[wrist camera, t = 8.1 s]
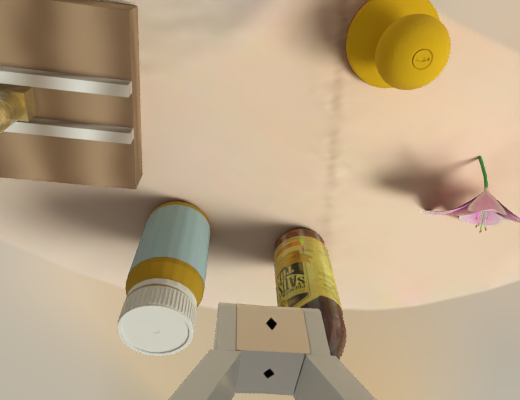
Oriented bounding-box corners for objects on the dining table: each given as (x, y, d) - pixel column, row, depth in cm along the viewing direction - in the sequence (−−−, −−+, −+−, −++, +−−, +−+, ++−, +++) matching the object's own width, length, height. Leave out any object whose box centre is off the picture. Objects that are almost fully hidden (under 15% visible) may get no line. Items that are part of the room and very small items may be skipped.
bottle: (135, 221, 45) (92, 329, 32) (180, 186, 43) (154, 287, 30) (179, 258, 48) (156, 369, 35) (223, 227, 46) (216, 334, 33)
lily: (390, 169, 44) (408, 252, 39) (502, 112, 36) (541, 208, 31) (445, 200, 51) (465, 273, 46) (549, 158, 43) (586, 241, 38)
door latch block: (137, 6, 33) (117, 17, 28) (142, 174, 42) (127, 207, 36) (-124, -29, 31) (-200, -25, 26) (-64, 155, 40) (-112, 187, 34)
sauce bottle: (287, 218, 45) (314, 377, 29) (334, 235, 47) (386, 395, 30) (262, 259, 48) (274, 424, 32) (308, 274, 50) (342, 439, 33)
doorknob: (350, -10, 33) (445, -12, 34) (341, 85, 38) (425, 83, 38) (375, -1, 27) (492, -3, 27) (361, 113, 31) (462, 110, 31)
